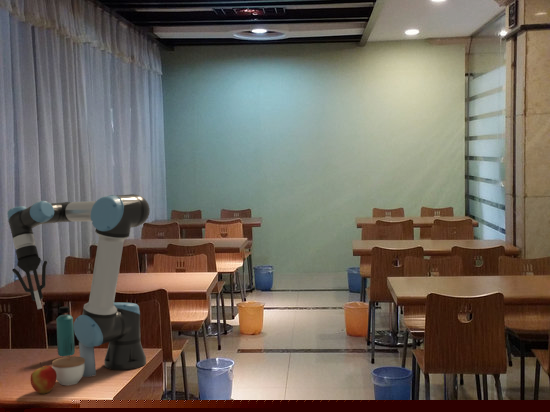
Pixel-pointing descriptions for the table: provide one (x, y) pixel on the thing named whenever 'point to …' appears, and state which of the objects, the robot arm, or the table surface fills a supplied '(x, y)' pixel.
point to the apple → (43, 379)
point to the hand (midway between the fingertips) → (39, 308)
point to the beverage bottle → (65, 333)
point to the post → (88, 360)
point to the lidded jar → (69, 369)
